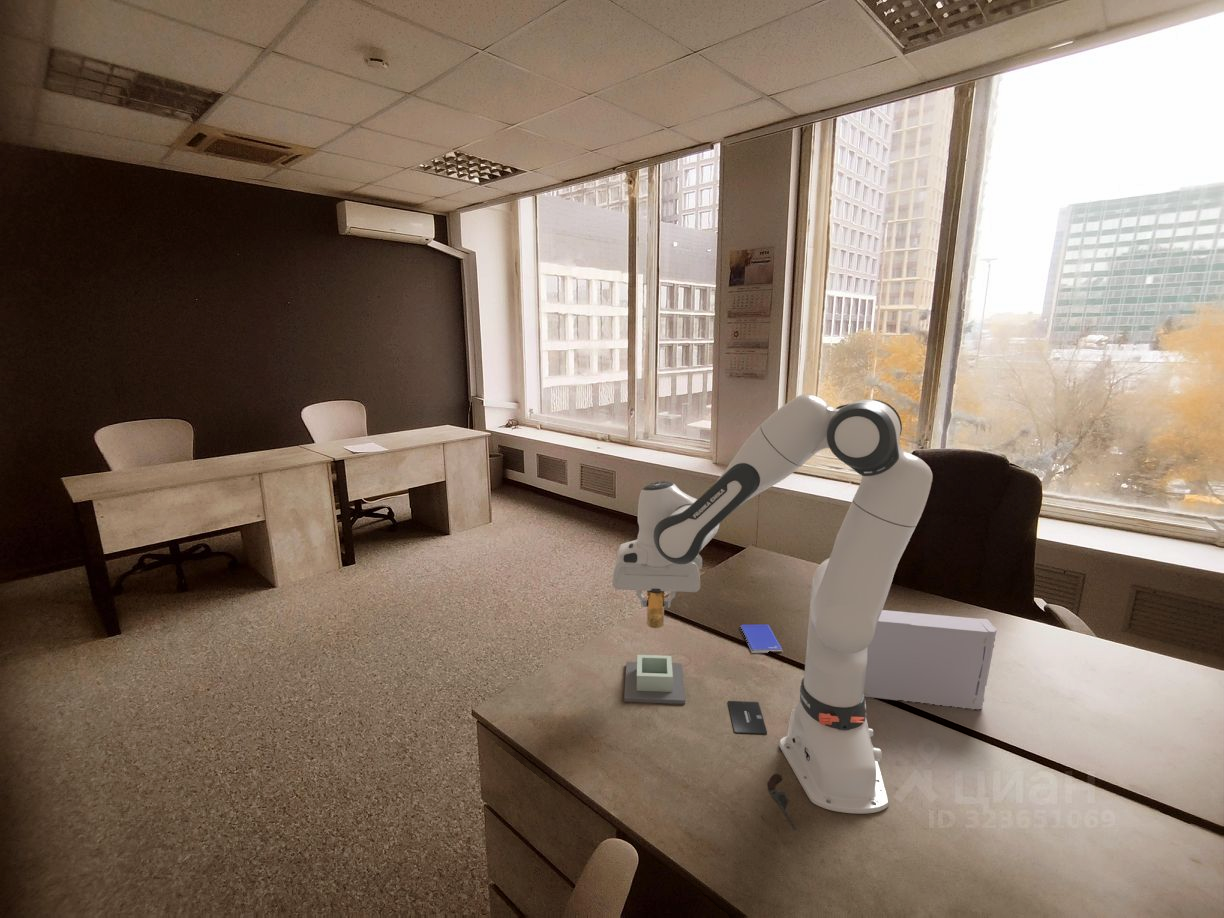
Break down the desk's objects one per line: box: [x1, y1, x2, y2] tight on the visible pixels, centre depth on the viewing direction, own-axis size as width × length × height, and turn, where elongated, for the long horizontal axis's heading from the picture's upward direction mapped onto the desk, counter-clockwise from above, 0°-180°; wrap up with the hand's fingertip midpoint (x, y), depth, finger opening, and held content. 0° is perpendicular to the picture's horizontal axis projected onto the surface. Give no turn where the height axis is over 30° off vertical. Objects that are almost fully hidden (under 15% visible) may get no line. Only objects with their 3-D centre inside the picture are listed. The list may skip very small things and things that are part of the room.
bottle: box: [646, 589, 665, 629], centre depth 128 cm, size 4×4×10 cm
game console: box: [864, 609, 997, 710], centre depth 125 cm, size 6×27×20 cm, turn 78°
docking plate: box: [624, 654, 686, 705], centre depth 132 cm, size 14×14×5 cm
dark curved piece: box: [767, 773, 798, 831], centre depth 99 cm, size 14×4×1 cm, turn 13°
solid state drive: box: [727, 700, 768, 736], centre depth 121 cm, size 7×10×1 cm
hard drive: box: [740, 624, 783, 654], centre depth 151 cm, size 2×8×12 cm
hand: (655, 606), depth 128 cm, fingers closed on bottle, 4 cm apart
